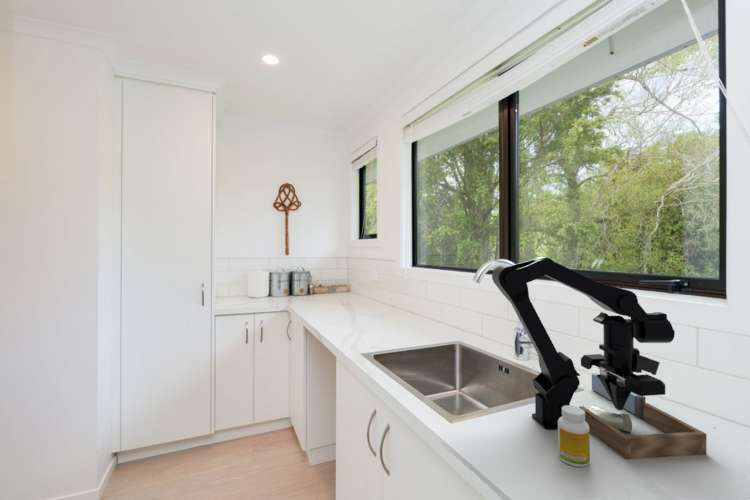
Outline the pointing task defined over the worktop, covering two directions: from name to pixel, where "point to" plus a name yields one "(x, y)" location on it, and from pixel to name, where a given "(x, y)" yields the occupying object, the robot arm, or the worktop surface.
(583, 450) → the supplement bottle
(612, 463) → the worktop surface
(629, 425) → the pipe fitting
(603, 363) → the robot arm
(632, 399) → the grey rectangular bar
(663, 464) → the worktop surface
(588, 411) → the rectangular wooden tray
